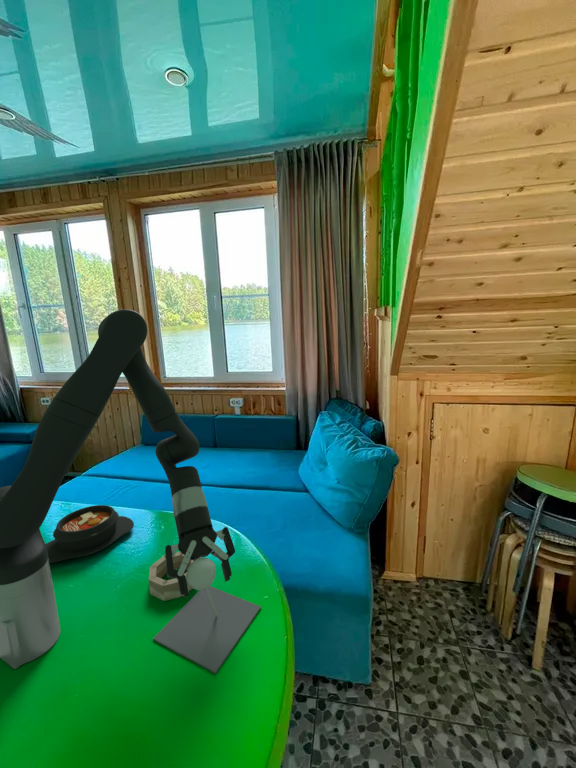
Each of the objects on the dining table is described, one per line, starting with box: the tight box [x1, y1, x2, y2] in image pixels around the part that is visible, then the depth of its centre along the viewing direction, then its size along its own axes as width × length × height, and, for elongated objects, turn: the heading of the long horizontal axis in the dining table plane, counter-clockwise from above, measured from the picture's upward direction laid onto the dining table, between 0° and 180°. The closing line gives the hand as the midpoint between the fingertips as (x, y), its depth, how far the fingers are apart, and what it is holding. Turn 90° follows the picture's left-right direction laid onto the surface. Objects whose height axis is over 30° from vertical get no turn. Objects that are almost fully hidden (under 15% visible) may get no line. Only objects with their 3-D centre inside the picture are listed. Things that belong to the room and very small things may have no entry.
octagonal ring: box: [148, 551, 193, 602], centre depth 83 cm, size 12×11×4 cm
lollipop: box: [186, 557, 217, 617], centre depth 70 cm, size 6×6×15 cm
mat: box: [152, 585, 262, 675], centre depth 71 cm, size 16×16×1 cm
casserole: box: [45, 504, 135, 564], centre depth 100 cm, size 25×19×8 cm
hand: (208, 588), depth 68 cm, fingers open, 8 cm apart
